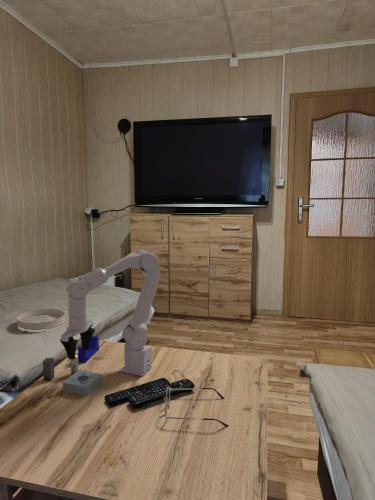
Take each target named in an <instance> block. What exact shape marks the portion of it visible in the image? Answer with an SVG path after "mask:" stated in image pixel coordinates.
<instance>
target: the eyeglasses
mask: <svg viewBox="0 0 375 500" xmlns="http://www.w3.org/2000/svg"><path fill="white" fill-rule="evenodd" d="M185 390H187V391H188V390H213V391H214V392H216V393H217V396H219V397H220V398H221V399H222V400H226V399H225V397H224V396H223V395H222V394H221V393H219V391H218V390H217V389H215V388H213V387H201V388H200V387H199V388H194V387H193V388H192V387H191V388H190V387H189V388H187V387H186V388H170V387H169V386H168V387H166V393H165V396H164V397H163V400H164V417H165V420H166V421H168V419H169V420H170V419H173V420H196V418H194V417H175V416H168V410H170V407H171V406H170V404H171V391H185ZM200 420H201V421H215V422H219V424H221V425H223V426H224V427H229V424H227V423H225V422H223V421H221V420H219V419H216V418H205V417H203V418H200Z"/></svg>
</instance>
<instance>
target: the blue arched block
mask: <svg viewBox="0 0 375 500" xmlns="http://www.w3.org/2000/svg"><path fill="white" fill-rule="evenodd" d="M99 338H100V337H99V335H93V336H92V338H91V341H90V346H89V349H88V350H84V349H82V345H78V347H77V354H78V363H84V364H85V363H88V361H89V360H90V359H91V358H92V357H93V356H94V355H95V354H96V353H97V352H98V351H99V350H100V339H99Z"/></svg>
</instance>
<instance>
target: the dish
mask: <svg viewBox="0 0 375 500" xmlns="http://www.w3.org/2000/svg"><path fill="white" fill-rule="evenodd" d="M39 315H49V316H48V318H49V319H48V320H49V321H47V322H40V323H26V322H21V320H22V319H25V318H28V317H32V316H39ZM65 317H66V316H65V312H64V310H61V309H58V308H40V309H33V310H30V311H25V312H23V313H21V314H19V315H18V316H17V317H16V321H17V322H16V326H17V325H18V326H19V327H21V328H24V329H31V330H41V329H51V328H55V327H58V326H61V325H62V324H63V323H64V322H65V323H66V318H65Z"/></svg>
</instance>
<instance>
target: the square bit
mask: <svg viewBox="0 0 375 500" xmlns="http://www.w3.org/2000/svg"><path fill="white" fill-rule="evenodd" d="M42 374H43V376H42V377H43V381H45V382H46V381H47V382H52V381H53V380H54V378H55V358H53V357H46V358H45V359H43V360H42Z"/></svg>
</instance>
